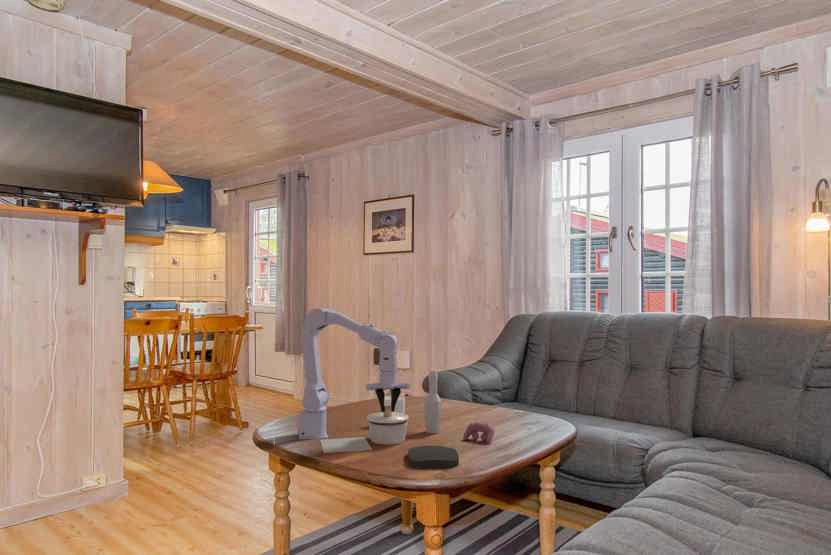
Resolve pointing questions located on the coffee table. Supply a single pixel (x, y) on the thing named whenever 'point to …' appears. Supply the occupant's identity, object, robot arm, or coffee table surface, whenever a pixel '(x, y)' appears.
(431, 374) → the low poly bottle
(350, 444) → the mat
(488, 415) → the coffee table surface
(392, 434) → the ramekin
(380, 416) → the lid
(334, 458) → the coffee table surface
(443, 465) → the media streaming box
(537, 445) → the coffee table surface
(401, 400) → the white cup
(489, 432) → the video game controller
